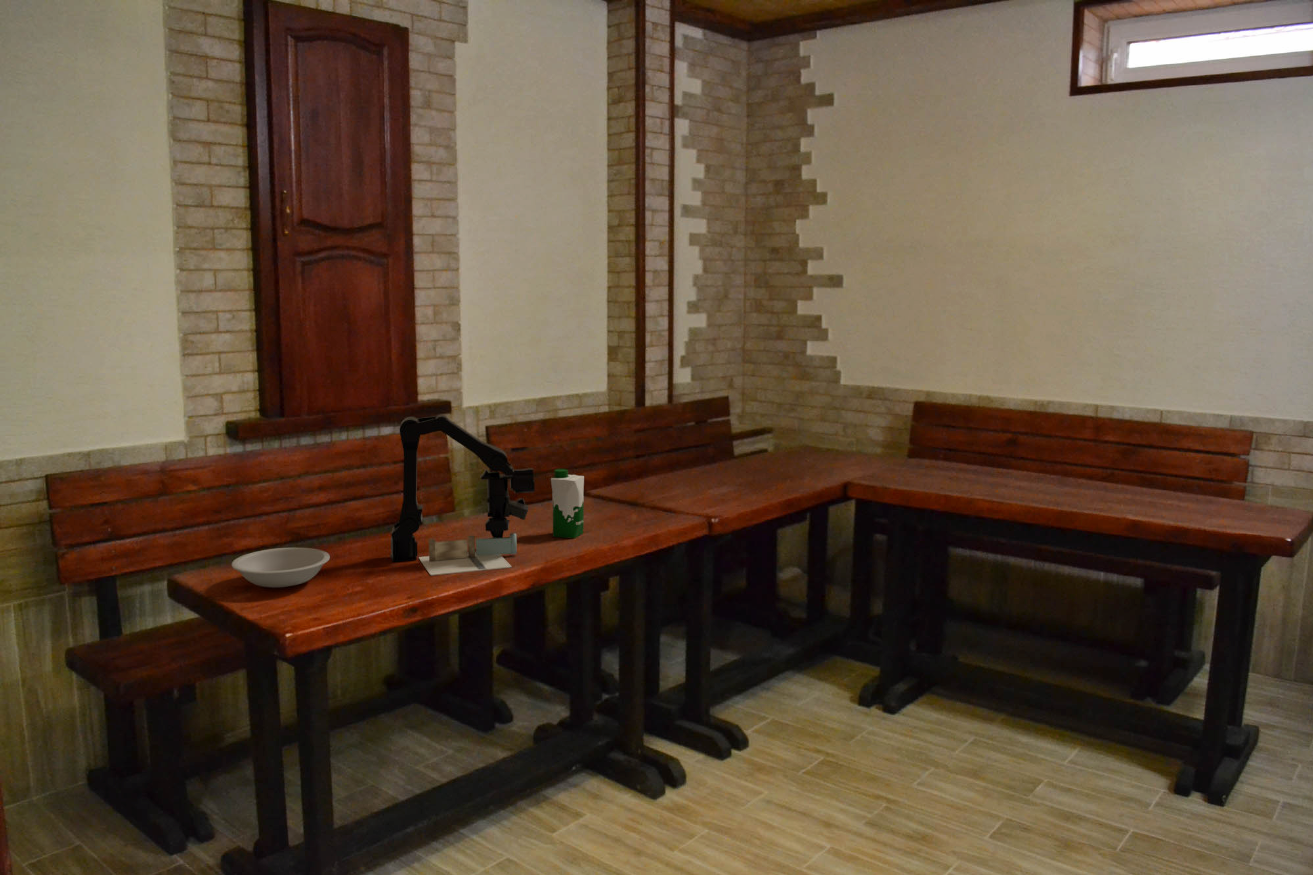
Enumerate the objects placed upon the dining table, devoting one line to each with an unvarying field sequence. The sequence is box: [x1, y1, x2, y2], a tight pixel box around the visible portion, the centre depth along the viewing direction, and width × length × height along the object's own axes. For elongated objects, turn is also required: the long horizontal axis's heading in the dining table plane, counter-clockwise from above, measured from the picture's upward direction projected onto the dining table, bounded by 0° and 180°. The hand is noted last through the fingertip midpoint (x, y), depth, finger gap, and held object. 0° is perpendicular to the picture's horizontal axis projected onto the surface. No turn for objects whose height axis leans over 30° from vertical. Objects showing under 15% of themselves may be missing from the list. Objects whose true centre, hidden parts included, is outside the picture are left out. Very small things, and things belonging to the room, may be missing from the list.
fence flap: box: [475, 532, 518, 556], centre depth 314 cm, size 11×2×6 cm, turn 102°
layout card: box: [418, 551, 512, 577], centre depth 308 cm, size 22×18×1 cm
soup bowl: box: [231, 547, 331, 588], centre depth 287 cm, size 24×24×7 cm
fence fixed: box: [428, 534, 476, 561], centre depth 310 cm, size 13×2×6 cm, turn 112°
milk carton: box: [550, 468, 585, 539], centre depth 337 cm, size 9×9×20 cm
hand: (499, 546), depth 317 cm, fingers closed
